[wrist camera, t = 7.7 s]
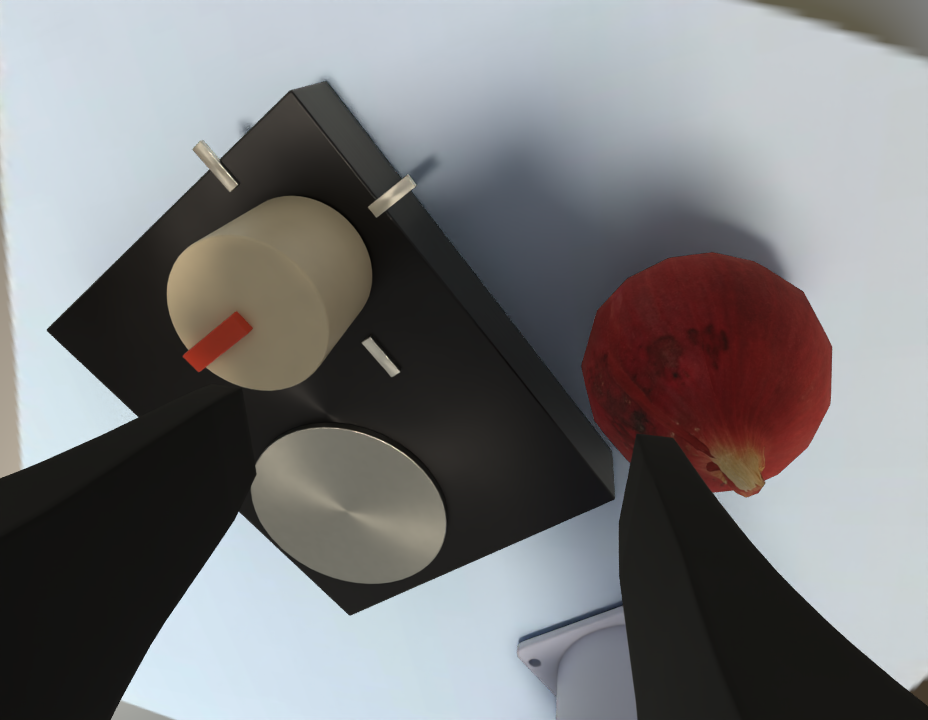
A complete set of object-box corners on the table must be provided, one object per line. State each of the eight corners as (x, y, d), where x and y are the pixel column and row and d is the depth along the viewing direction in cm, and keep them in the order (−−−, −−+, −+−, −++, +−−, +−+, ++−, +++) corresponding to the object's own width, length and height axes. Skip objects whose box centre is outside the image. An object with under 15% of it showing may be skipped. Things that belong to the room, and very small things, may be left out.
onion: (566, 372, 21) (557, 550, 14) (608, 201, 18) (623, 319, 11) (744, 406, 20) (827, 609, 13) (816, 237, 17) (968, 383, 11)
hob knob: (302, 164, 16) (231, 202, 13) (401, 283, 17) (359, 344, 14) (209, 250, 18) (125, 303, 15) (305, 353, 19) (248, 423, 16)
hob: (640, 438, 22) (648, 489, 19) (368, 568, 27) (348, 619, 25) (339, 34, 17) (301, 37, 15) (83, 287, 22) (26, 318, 20)
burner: (489, 535, 21) (487, 541, 21) (345, 600, 24) (343, 607, 24) (354, 386, 19) (351, 392, 19) (215, 476, 22) (211, 482, 22)
